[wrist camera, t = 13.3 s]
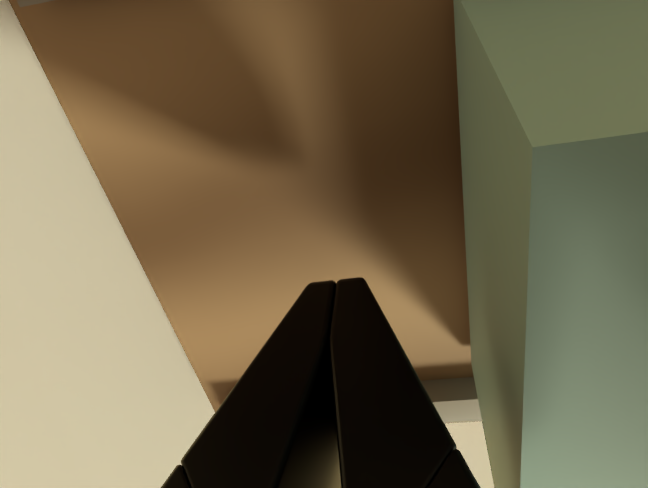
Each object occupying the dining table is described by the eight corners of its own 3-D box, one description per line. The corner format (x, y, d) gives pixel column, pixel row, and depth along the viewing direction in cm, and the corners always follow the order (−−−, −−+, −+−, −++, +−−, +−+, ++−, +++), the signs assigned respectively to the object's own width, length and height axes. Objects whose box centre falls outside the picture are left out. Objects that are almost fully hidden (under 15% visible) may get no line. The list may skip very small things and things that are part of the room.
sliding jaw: (596, 355, 11) (699, 599, 8) (471, 364, 12) (515, 601, 8) (656, -54, 7) (962, 88, 3) (452, -16, 7) (533, 146, 4)
